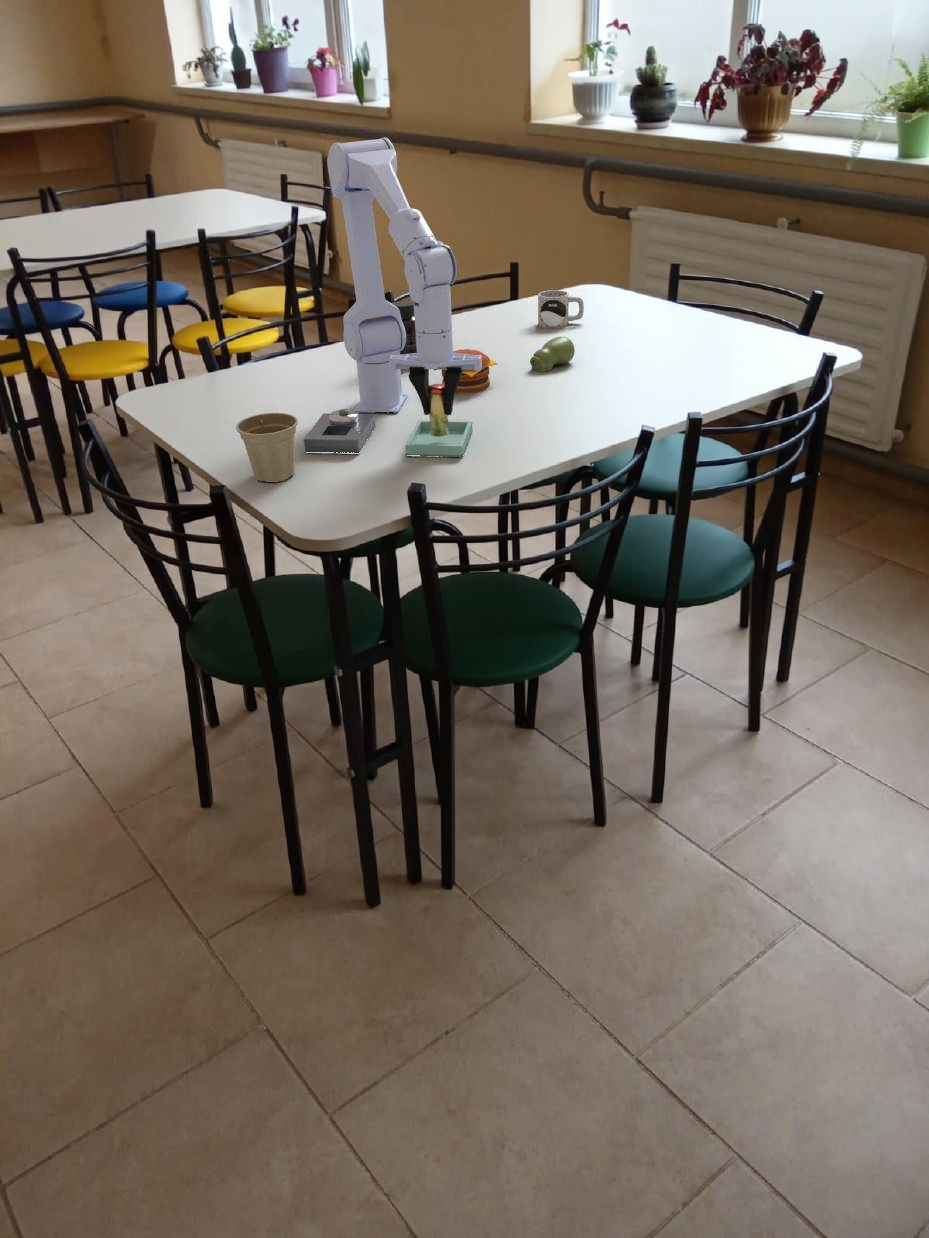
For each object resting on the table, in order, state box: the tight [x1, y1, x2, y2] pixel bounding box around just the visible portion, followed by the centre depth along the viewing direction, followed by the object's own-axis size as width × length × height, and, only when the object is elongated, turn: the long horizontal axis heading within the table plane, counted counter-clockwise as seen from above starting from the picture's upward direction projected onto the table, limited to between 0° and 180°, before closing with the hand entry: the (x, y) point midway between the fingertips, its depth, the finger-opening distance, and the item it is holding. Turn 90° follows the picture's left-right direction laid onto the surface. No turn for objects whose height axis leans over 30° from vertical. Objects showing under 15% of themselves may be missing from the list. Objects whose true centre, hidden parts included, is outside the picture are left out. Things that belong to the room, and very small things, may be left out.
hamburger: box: [433, 348, 498, 394], centre depth 193 cm, size 9×10×7 cm
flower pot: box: [235, 412, 299, 483], centre depth 159 cm, size 9×9×9 cm
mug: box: [537, 289, 585, 329], centre depth 226 cm, size 10×7×7 cm
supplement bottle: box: [391, 300, 417, 355], centre depth 205 cm, size 7×7×12 cm
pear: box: [529, 336, 576, 373], centre depth 202 cm, size 6×5×10 cm
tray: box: [405, 419, 473, 458], centre depth 169 cm, size 11×9×2 cm
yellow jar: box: [428, 383, 449, 437], centre depth 166 cm, size 3×3×8 cm
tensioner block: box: [303, 408, 376, 453], centre depth 172 cm, size 12×9×4 cm
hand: (438, 413), depth 167 cm, fingers closed on yellow jar, 3 cm apart
